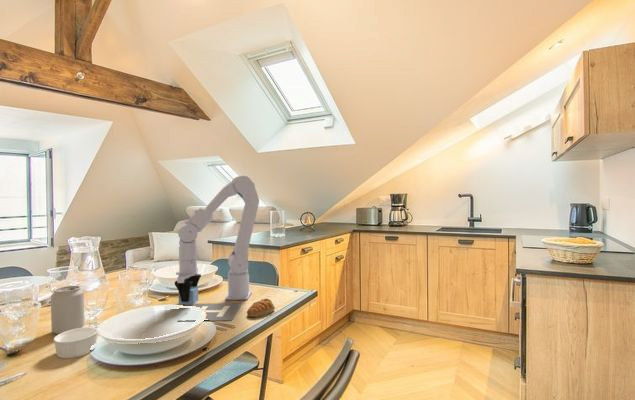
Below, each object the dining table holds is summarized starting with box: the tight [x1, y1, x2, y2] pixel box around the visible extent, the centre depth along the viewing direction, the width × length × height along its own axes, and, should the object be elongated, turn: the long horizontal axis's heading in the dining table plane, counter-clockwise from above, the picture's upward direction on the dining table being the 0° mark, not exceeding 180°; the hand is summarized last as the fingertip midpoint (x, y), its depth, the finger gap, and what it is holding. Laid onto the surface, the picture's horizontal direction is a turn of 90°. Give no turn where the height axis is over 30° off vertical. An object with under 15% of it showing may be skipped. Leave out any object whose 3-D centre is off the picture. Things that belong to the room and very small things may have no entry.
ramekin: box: [53, 326, 99, 359], centre depth 86 cm, size 9×9×4 cm
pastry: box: [246, 298, 276, 318], centre depth 112 cm, size 9×7×4 cm
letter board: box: [192, 302, 243, 322], centre depth 113 cm, size 16×16×1 cm
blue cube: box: [178, 286, 199, 306], centre depth 123 cm, size 5×5×5 cm
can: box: [50, 285, 85, 336], centre depth 99 cm, size 8×8×12 cm
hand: (188, 298), depth 123 cm, fingers open, 6 cm apart
